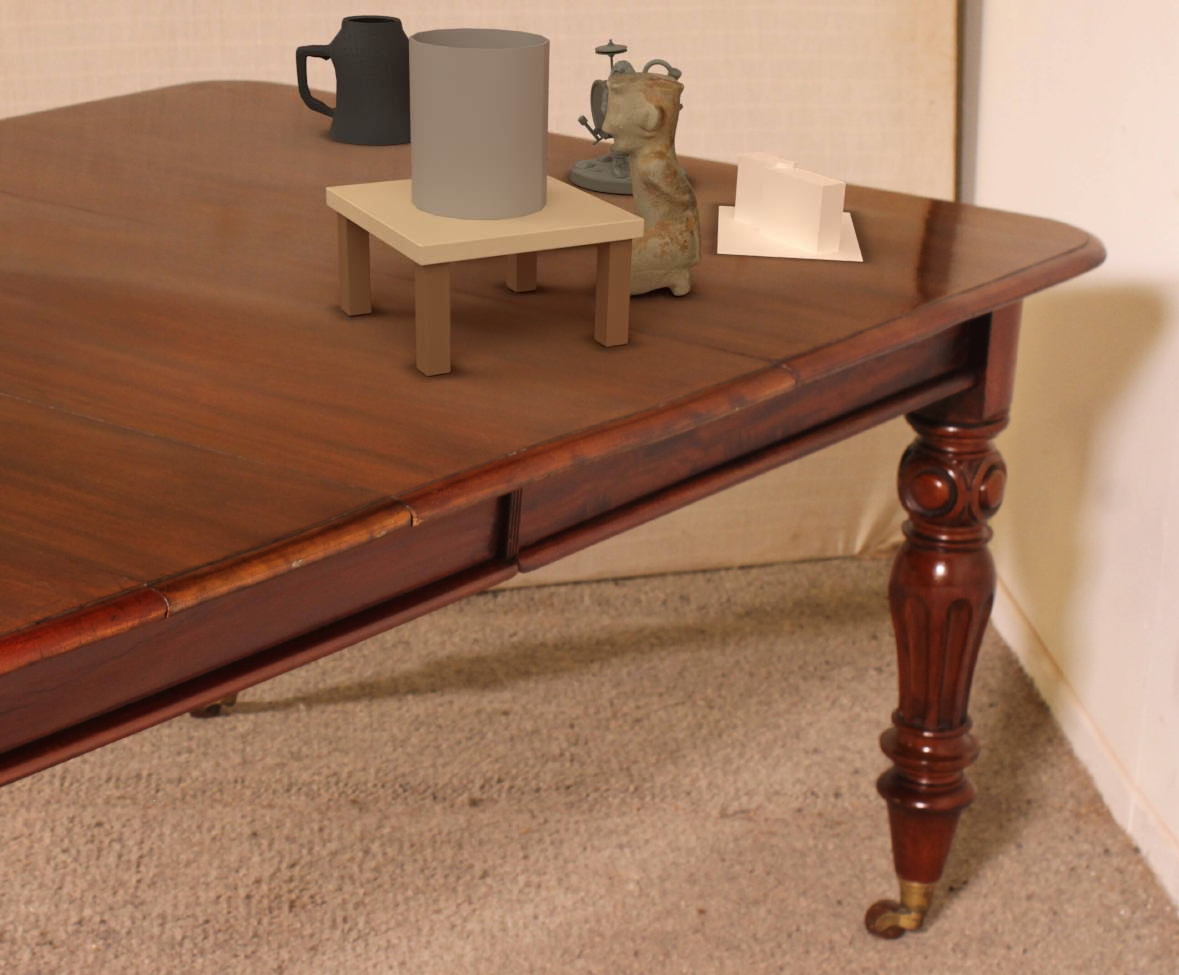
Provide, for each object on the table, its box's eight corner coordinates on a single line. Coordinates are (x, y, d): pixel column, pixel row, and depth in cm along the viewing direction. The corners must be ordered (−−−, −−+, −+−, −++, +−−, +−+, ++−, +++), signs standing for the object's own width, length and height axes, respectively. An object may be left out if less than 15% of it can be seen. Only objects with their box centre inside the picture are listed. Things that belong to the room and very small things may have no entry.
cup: (386, 198, 94) (382, 34, 90) (487, 180, 99) (488, 24, 95) (469, 226, 88) (469, 53, 84) (572, 206, 94) (577, 42, 89)
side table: (422, 381, 88) (420, 245, 85) (330, 308, 100) (325, 186, 96) (638, 345, 95) (644, 218, 92) (529, 281, 107) (530, 166, 103)
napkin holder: (865, 261, 114) (874, 187, 112) (717, 254, 115) (722, 180, 112) (849, 212, 128) (856, 145, 125) (716, 205, 128) (721, 138, 126)
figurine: (592, 197, 129) (596, 55, 124) (554, 169, 138) (557, 36, 133) (704, 191, 132) (713, 52, 127) (660, 164, 142) (667, 34, 137)
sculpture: (592, 278, 108) (599, 65, 101) (691, 279, 108) (704, 67, 102) (599, 303, 102) (607, 80, 96) (703, 304, 103) (718, 82, 97)
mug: (420, 126, 154) (418, 13, 150) (421, 145, 146) (419, 26, 141) (303, 125, 153) (297, 11, 148) (296, 144, 145) (290, 24, 140)
